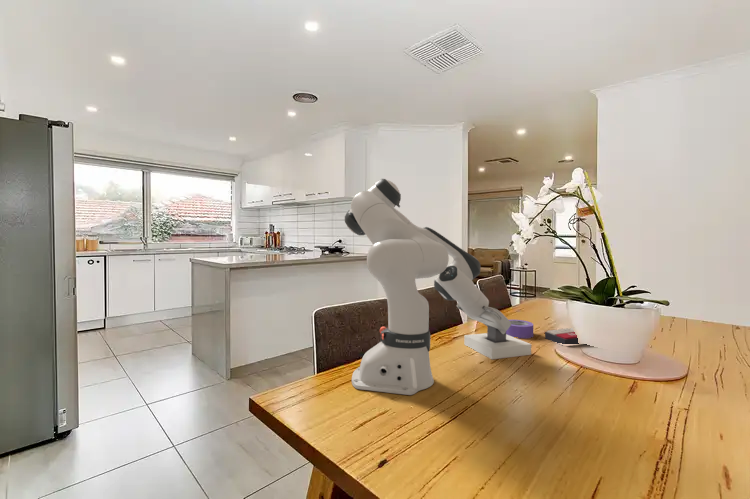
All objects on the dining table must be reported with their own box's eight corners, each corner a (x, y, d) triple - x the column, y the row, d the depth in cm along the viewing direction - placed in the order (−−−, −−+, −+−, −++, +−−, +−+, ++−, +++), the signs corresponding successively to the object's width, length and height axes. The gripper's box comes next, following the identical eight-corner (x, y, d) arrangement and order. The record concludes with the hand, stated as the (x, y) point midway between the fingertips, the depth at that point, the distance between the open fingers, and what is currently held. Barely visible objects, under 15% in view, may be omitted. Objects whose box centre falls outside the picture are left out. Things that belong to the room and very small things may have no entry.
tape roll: (513, 339, 136) (513, 326, 136) (497, 331, 148) (497, 319, 148) (539, 338, 139) (539, 325, 139) (521, 330, 150) (521, 318, 150)
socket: (491, 359, 113) (492, 346, 113) (464, 344, 128) (464, 333, 128) (531, 354, 118) (531, 341, 118) (500, 341, 133) (500, 329, 133)
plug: (495, 344, 120) (495, 322, 120) (487, 341, 124) (487, 319, 124) (505, 343, 122) (506, 321, 121) (497, 340, 126) (498, 318, 126)
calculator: (544, 330, 138) (575, 326, 141) (544, 340, 138) (575, 336, 142) (565, 337, 127) (598, 333, 131) (565, 349, 127) (599, 344, 131)
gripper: (500, 303, 110) (524, 331, 114) (464, 293, 130) (485, 317, 133) (488, 317, 109) (513, 345, 113) (453, 305, 129) (475, 329, 132)
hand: (498, 330), depth 123 cm, fingers closed on plug, 4 cm apart
